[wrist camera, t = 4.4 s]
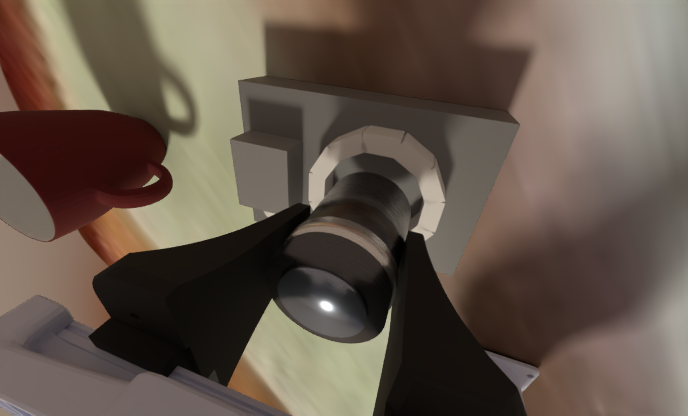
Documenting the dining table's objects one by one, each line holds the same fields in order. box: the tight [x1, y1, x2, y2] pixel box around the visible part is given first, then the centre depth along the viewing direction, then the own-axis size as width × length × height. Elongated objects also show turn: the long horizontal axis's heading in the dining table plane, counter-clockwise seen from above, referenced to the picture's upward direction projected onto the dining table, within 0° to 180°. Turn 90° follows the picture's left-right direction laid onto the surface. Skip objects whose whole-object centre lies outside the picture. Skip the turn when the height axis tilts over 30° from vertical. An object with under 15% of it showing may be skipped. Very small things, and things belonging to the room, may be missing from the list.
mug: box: [0, 110, 173, 242], centre depth 20 cm, size 10×8×10 cm
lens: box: [266, 172, 411, 343], centre depth 11 cm, size 5×5×6 cm
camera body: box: [230, 76, 520, 276], centre depth 17 cm, size 10×15×5 cm, turn 85°
